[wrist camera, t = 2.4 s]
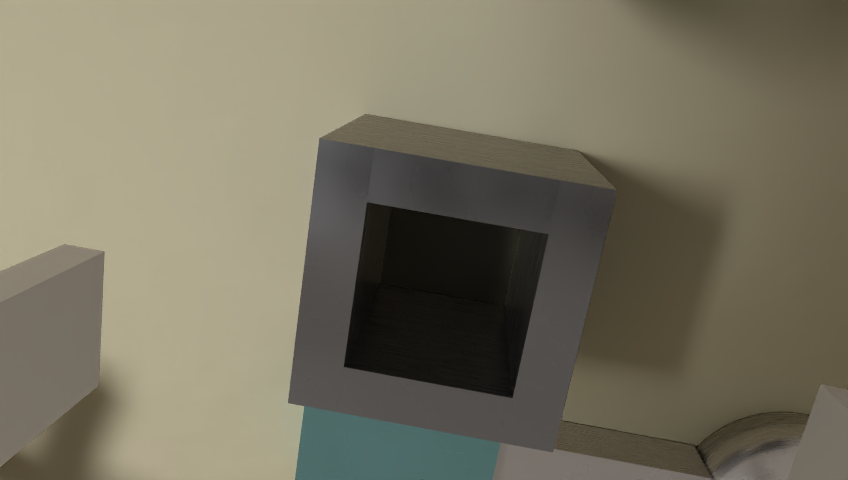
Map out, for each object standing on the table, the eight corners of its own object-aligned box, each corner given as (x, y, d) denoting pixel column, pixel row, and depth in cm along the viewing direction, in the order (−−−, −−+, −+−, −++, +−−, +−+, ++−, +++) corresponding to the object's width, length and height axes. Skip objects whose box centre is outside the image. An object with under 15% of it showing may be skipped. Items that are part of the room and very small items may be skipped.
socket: (365, 113, 20) (319, 138, 15) (577, 150, 20) (617, 190, 14) (338, 311, 22) (288, 402, 16) (533, 347, 22) (553, 452, 16)
